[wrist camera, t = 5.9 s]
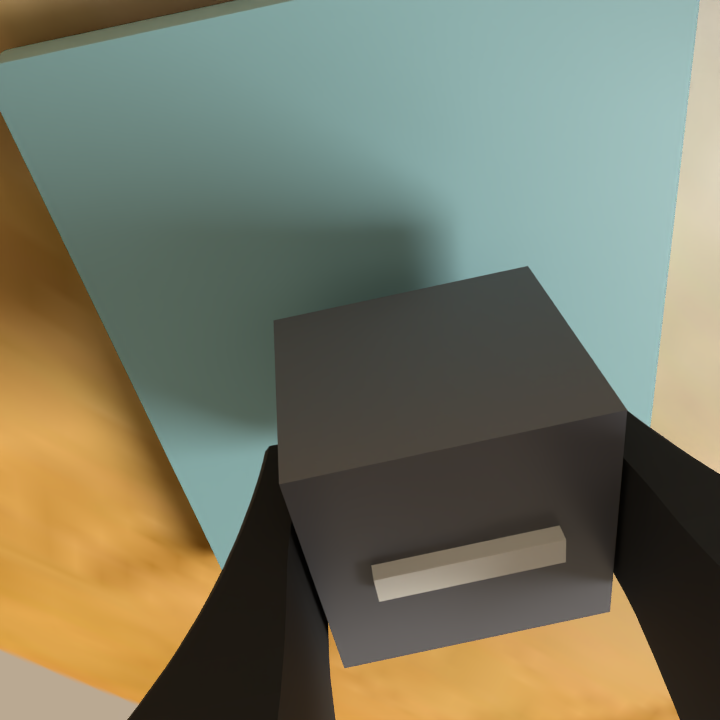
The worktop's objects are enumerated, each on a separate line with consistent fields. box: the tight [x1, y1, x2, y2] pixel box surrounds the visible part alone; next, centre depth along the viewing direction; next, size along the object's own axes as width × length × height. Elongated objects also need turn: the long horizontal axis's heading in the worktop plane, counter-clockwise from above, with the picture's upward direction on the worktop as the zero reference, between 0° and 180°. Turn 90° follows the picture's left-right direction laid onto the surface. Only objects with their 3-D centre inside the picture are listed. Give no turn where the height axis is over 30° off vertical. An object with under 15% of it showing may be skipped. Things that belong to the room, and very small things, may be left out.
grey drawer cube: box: [273, 266, 627, 668], centre depth 13 cm, size 5×5×5 cm
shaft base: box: [0, 0, 700, 569], centre depth 16 cm, size 13×16×4 cm
